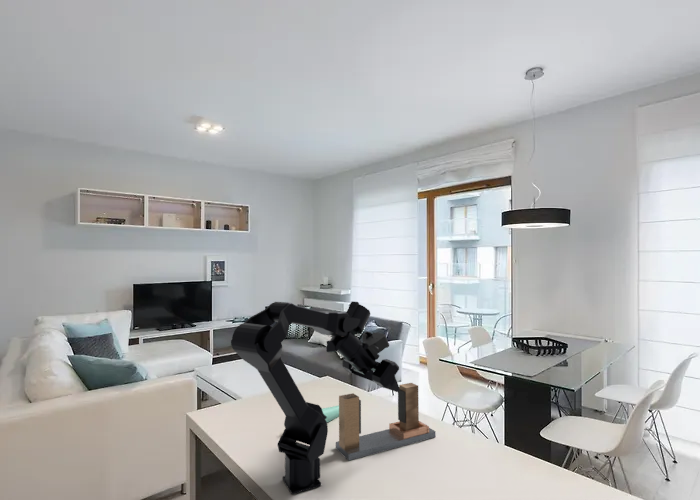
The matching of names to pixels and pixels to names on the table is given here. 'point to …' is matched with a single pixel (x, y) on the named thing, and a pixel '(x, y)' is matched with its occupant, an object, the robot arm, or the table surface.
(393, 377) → the robot arm
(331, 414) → the mint green cone
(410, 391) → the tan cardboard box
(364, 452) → the rail
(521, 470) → the table surface
